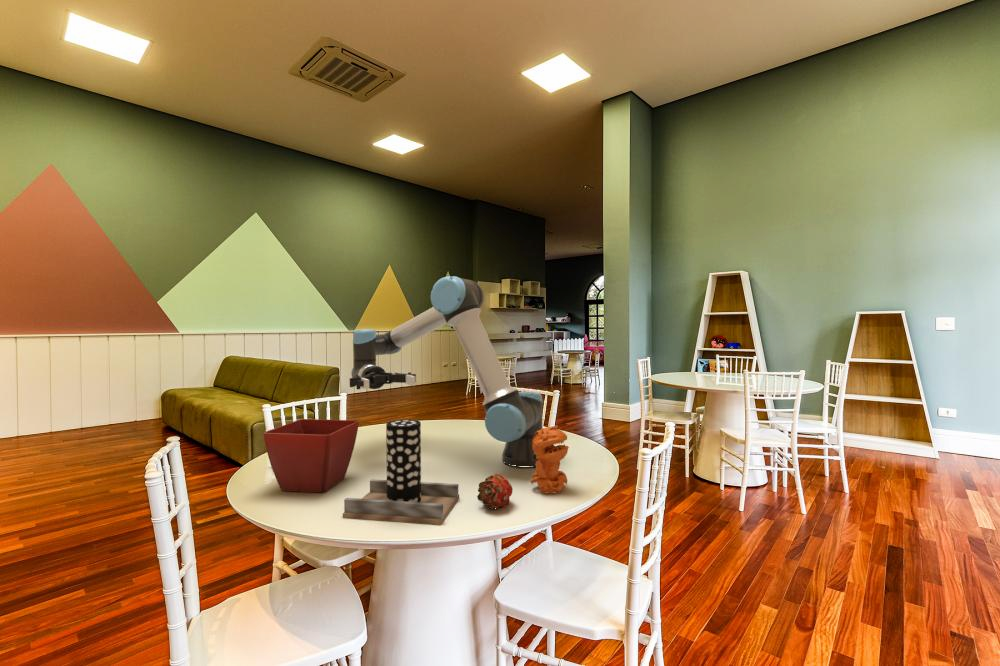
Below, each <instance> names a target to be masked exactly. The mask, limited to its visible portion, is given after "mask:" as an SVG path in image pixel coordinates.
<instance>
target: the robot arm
mask: <svg viewBox="0 0 1000 666" xmlns="http://www.w3.org/2000/svg"><path fill="white" fill-rule="evenodd" d="M431 289H432V290H431V292H430V301H431V302H430V303H431V305H432V307H430V308H428V309H427V310H425V311H423V312H422V313H420V314H418V315H416V316H414V317H412V318H411V319H409V320H407V321H404V322H403V323H402V324H399V325H398V326H396V327H394V328H392V329H391V330H389V331H387V332H385V333H382V334H381V333H380V334H378V333H376V330H375V329H372V328H370V329H368V328H367V329H355V330H354V331H353V337H352V338H353V339H352V345H353V347H352V351H353V367H352V369H351V373H350V374H351V378H349V387H350V388H354V387H356V390H361V389H365V390H379V389H380V388H382V387H383V386H384V385H390V384H393V383H401V384H402V383H403V384H406V385H410V386H413V387H414V386H416V382H417V374H416V373H412V372H409V371H408V372H407V373H403V372H402V373H401V372H400V373H399V372H394V373H393V372H386V370H385V369H384V368H383V367H381V366H378V365H377V356H383V355H393V354H396V353H399V352H400V351H401V350H402V348H403V347H405V346H407V345H409V344H411V343H413V342H415V341H416V340H420V338H422V337H424V336H426V335H428V334H430V333H432V332H434V331H435V330H437V329H440V328H441V327H443V326H445V325H447V326H450V327H451V328H453V329H454V331H455V332H456V336H457V338H458V339H459V341H460V344H461V347H462V349H463V351H464V353H465V355H466V358H467V360H468V362H469V364H470V367H471V369H472V372H473V374H474V376H475V378H476V381H477V383H478V385H479V388H480V389H481V392H482V393H483V396H484V398H483V401H482V406H483V409H484V411H485V418H484V426H485V429H486V431H487V433H488V434H489V435H490V436H491V438H493V439H494V440H496V441H498V442H503V443H505V445H504V448H503V452H502V457H501V458H502V460H503V461H502V460H501V461H502V463H503V462H505V463H507V464H510V465H516V466H535V463H536V461H539V460H538V459H536V455H535V454H534V451H533V449H532V448H533V447H532V442H533V437H534V435H535V432H536V431H539V430H541V429H543V404H544V402H543V396H542V394H541V393H540V392H531V391H519V390H518V388H515V387H513V386H511V385H510V383H509V380H508V378H507V376H506V373H505V371H504V369H503V367H502V365H501V362H500V360H499V358H498V355H497V353H496V351H495V349H494V347H493V344H492V342H491V340H490V338H489V336H488V333H487V331H486V329H485V327H484V324H483V323H482V320H481V318H480V314H481V311H482V309H481V308H482V306H483V304H484V301H485V294H484V290H483V289H482V287H481V286H480V284H478V283H477V282H476V281H474V280H471V279H466V278H461V277H458V276H455V275H453V276H449V275H447V276H445V277H441V278H440V279H438V280H437V281H436V282H435V283H434V284H433V287H432V288H431ZM535 437H536V436H535ZM534 439H535V438H534ZM540 462H541V461H540ZM505 463H504V464H505ZM507 464H506V465H507Z"/></svg>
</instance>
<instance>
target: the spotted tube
mask: <svg viewBox="0 0 1000 666" xmlns="http://www.w3.org/2000/svg"><path fill="white" fill-rule="evenodd" d="M421 425H422V424H421V421H420V420H416V419H396V420H391V421H388V422H386V441H385V442H386V444H385V445H386V447H385V448H386V480H387V500H390V501H405V502H421V482H422V468H421V467H422V453H421V452H422V451H421V450H422V444H421V443H422V441H421V439H422V438H421V435H422V431H421V430H422V429H421V428H422V427H421Z"/></svg>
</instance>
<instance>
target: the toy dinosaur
mask: <svg viewBox="0 0 1000 666" xmlns="http://www.w3.org/2000/svg"><path fill="white" fill-rule="evenodd" d="M558 427H559V425H557V424H555V425H554V426H546V427H544V428H542V429H541V430H539V431H536V432H535V435H534V437H533V442H532V447H533V448H532V449H533V451H534V454H535V455H536V459H538V460H539V461H536V463H535V466H536V467H535V472H534V473H533V474H532V477H531V479H529V481H530V482H529V483H531V485H533V484H534V483H537V487H538V491H540V490H541V491H543V492H548V493H547V494H554V493H553V492H557V493H559V492H561V491H562V489H564V490H566V485H568V477H567V475H566V474H567V473H565V472H564V471H562V470H561V471H560V466H561V462H560V461H562V460H563V459H565V457H566V456H567V454H568V452H569V451H568V450H569V448H570V447H569V446H568V445H565V443H564V442H565V441H567V440H568V435H567V434H566V432H564V431H563V430H561V429H560V428H558ZM535 436H536V437H535ZM534 438H535V439H534ZM540 461H541V462H540ZM541 491H540V492H541ZM558 491H559V492H558ZM543 492H542V493H543Z"/></svg>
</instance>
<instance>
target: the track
mask: <svg viewBox="0 0 1000 666" xmlns="http://www.w3.org/2000/svg"><path fill="white" fill-rule="evenodd" d="M458 499H460V494H459V483H448V482H447V483H443V482H429V481H427V482H426V481H425V482H424V481H421V502H405V501H390V500H387V479H377V478H375V479H373V478H372V479H370V480H369V492H368V493H367V494H365V495H364V496H363V497H362V498H359V497H358V498H355V497H345V499H344V501H343V502H344V503H343V504H344V505H343V506H344V507H343V509H344V512H343V513H342V518H343V519H354V520H355V519H356V520H367V521H368V520H371V521H382V522H397V523H398V522H399V523H409V524H411V523H412V524H423V525H435V526H436V525H437V526H441V525H442V524H443V523H444V521H445V520H446V518H447V516H448V515H449V514H450V512H451V511H452V509H453V508H454V506H455V505H457V503H458V501H459V500H458Z"/></svg>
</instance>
